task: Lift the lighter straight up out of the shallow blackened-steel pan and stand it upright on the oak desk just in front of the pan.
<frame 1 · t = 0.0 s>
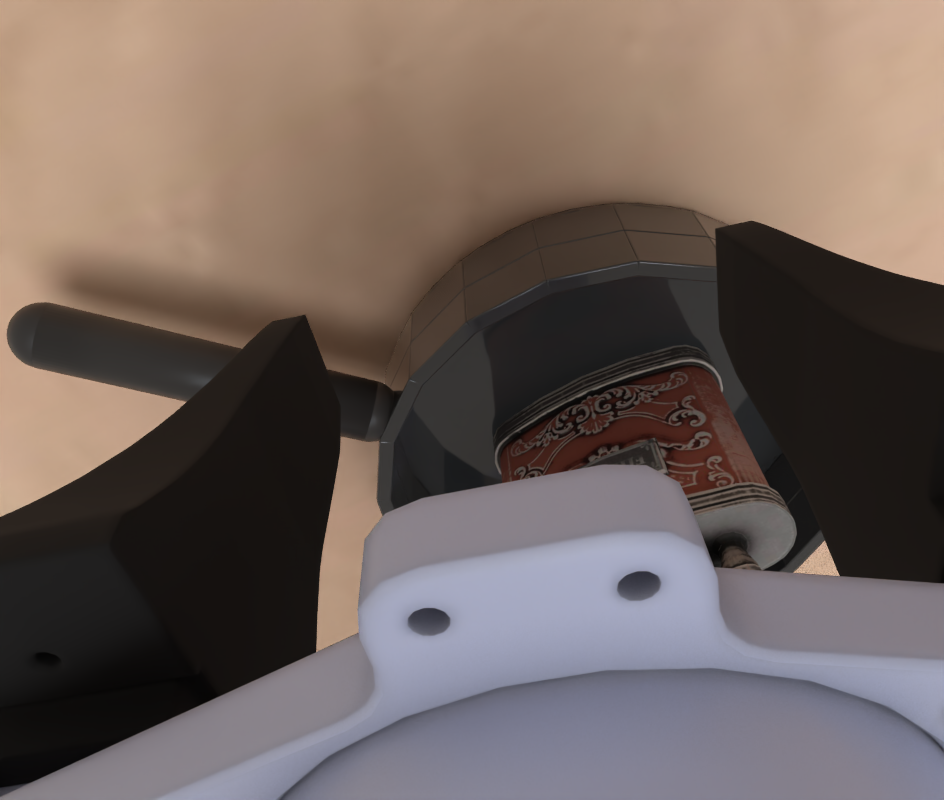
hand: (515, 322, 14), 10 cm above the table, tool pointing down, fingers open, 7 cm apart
pan: (600, 408, 28), on the table
lighter: (600, 408, 28), resting on pan
pan handle: (214, 375, 23), point 3 cm above the table
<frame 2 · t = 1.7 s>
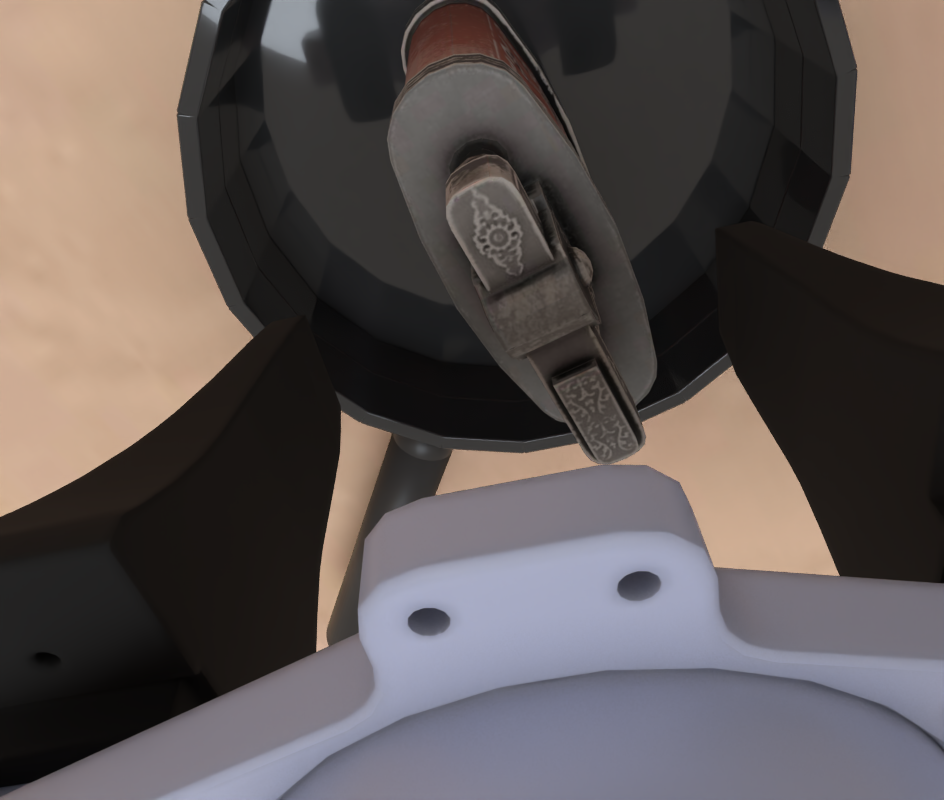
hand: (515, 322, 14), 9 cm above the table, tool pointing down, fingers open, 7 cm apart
pan: (506, 140, 21), on the table
lighter: (506, 140, 21), resting on pan
pan handle: (384, 545, 26), point 3 cm above the table
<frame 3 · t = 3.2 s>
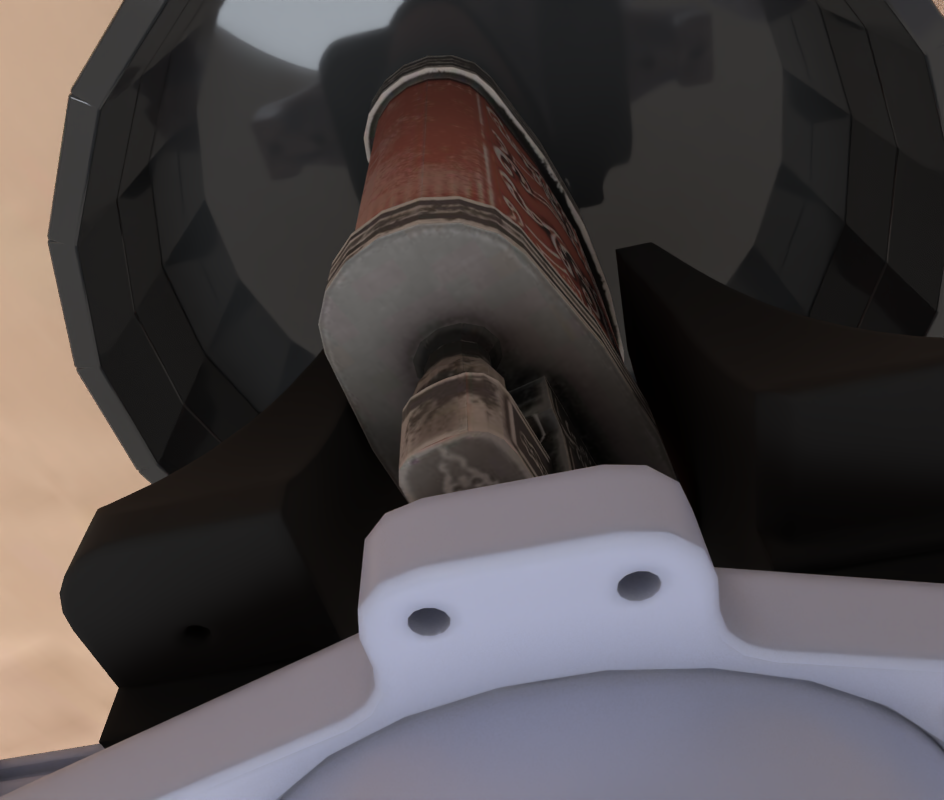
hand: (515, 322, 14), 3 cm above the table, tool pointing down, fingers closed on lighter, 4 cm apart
pan: (502, 240, 17), on the table
lighter: (502, 241, 17), resting on pan, touching gripper
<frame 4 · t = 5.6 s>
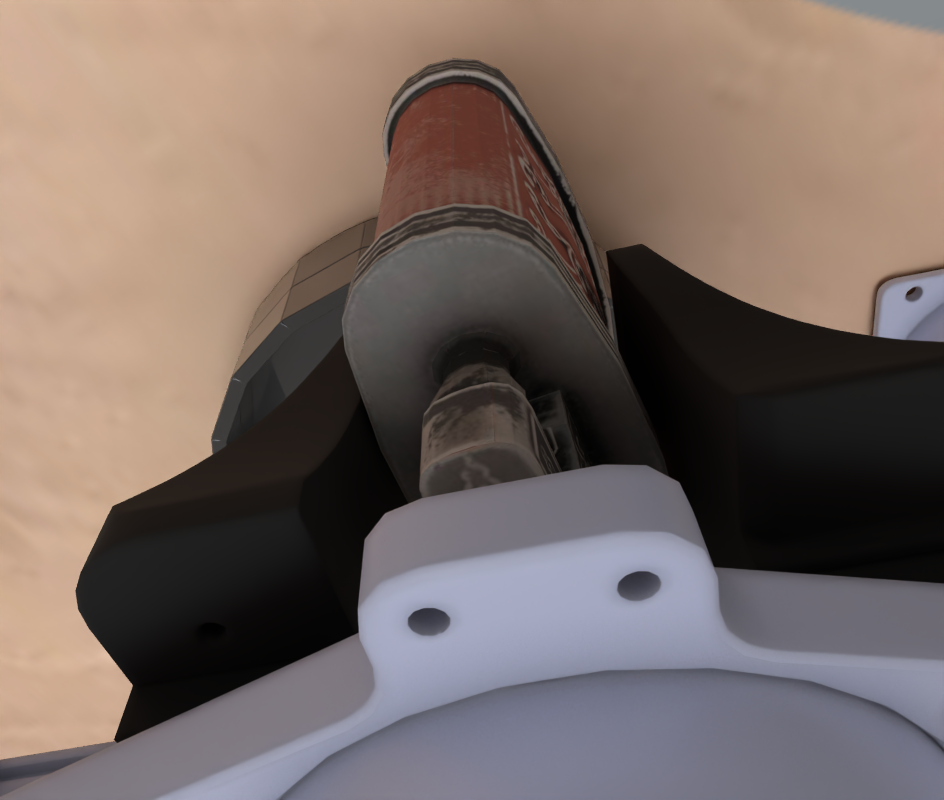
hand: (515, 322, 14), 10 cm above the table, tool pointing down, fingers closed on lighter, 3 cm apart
pan: (458, 408, 28), on the table
lighter: (508, 248, 17), point 7 cm above the table, touching gripper
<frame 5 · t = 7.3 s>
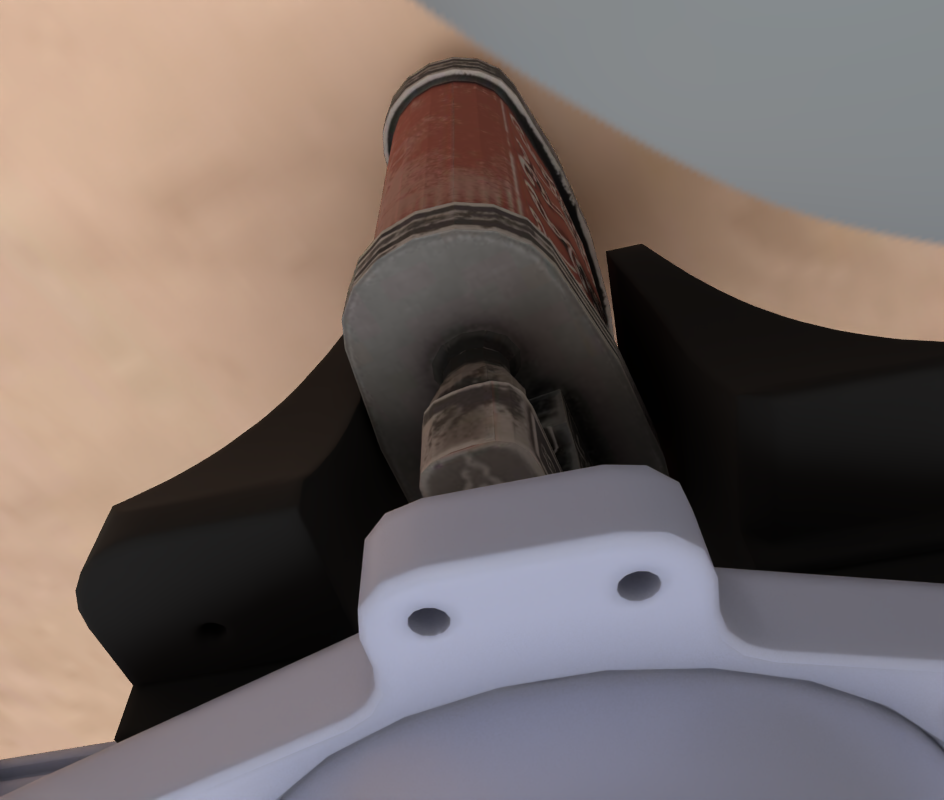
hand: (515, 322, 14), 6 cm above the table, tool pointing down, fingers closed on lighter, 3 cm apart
lighter: (508, 247, 17), point 2 cm above the table, touching gripper
when the fingers open (3 cm above the table, at t = 8.4 s): lighter stays where it is, on the table.
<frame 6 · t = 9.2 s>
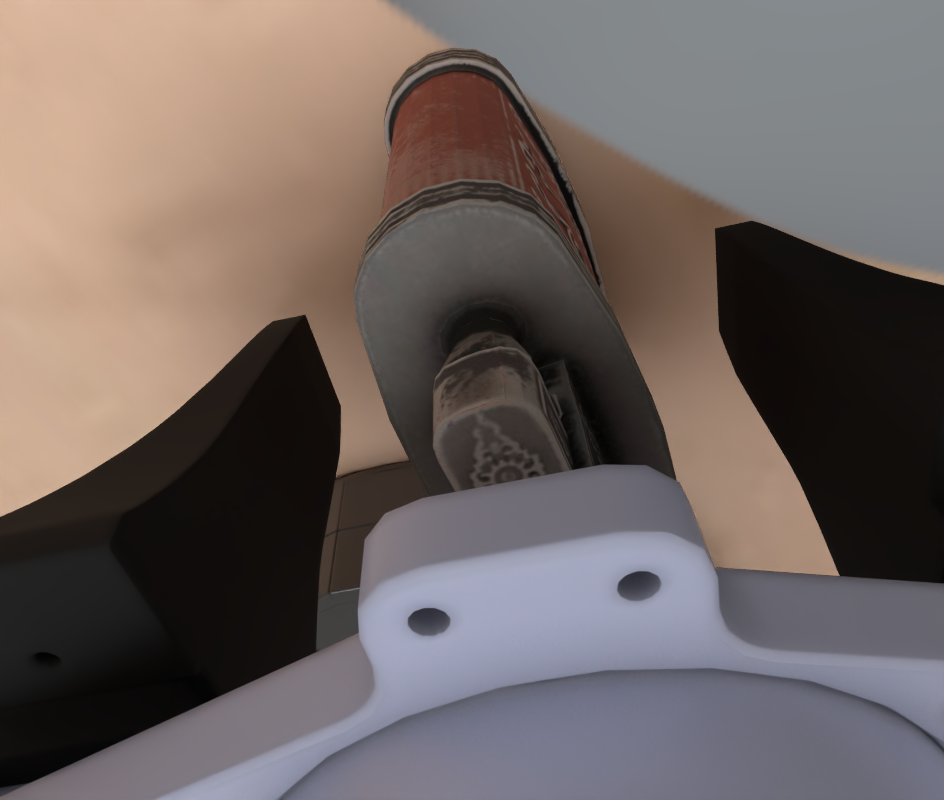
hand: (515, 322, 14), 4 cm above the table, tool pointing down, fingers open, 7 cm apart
pan: (454, 642, 25), on the table
lighter: (505, 235, 17), on the table
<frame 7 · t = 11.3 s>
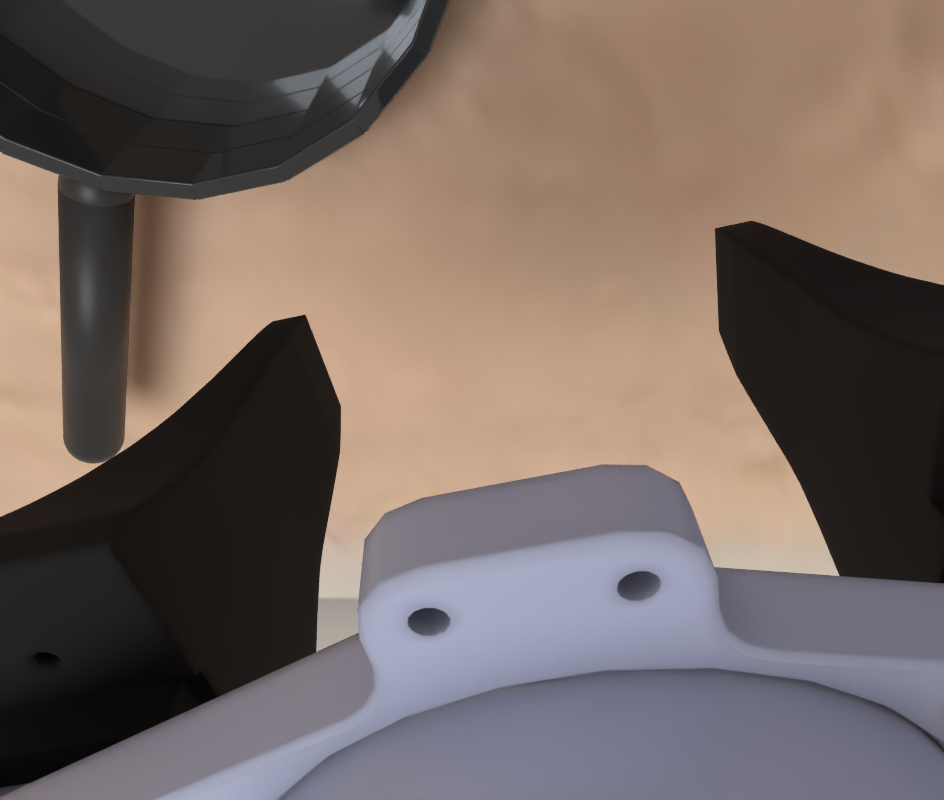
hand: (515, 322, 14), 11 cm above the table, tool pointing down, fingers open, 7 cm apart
pan handle: (95, 326, 23), point 3 cm above the table
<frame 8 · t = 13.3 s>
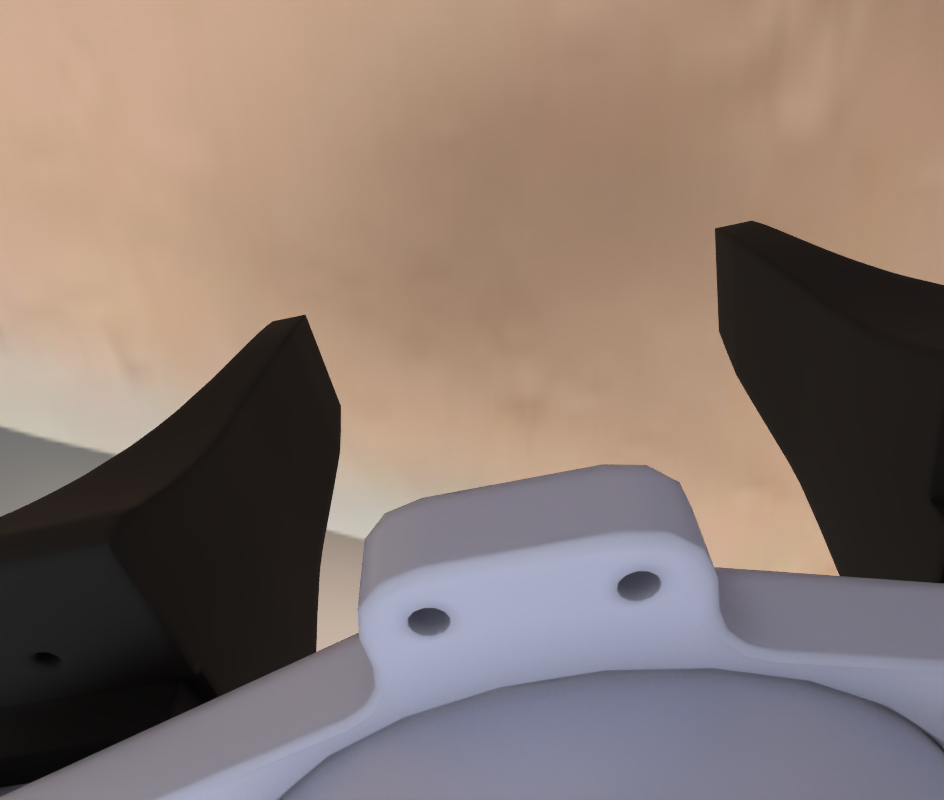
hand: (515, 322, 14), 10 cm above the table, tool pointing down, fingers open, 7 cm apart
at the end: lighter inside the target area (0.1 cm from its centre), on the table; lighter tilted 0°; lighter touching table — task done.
